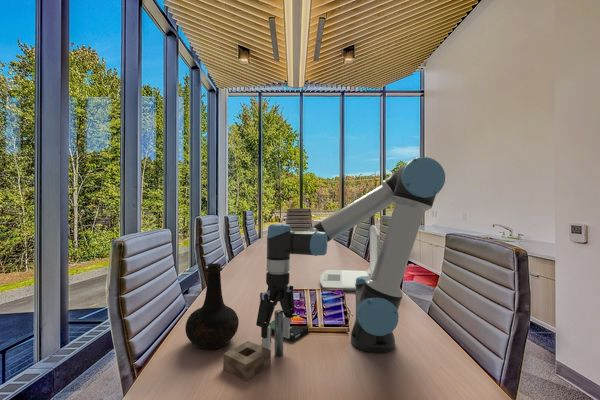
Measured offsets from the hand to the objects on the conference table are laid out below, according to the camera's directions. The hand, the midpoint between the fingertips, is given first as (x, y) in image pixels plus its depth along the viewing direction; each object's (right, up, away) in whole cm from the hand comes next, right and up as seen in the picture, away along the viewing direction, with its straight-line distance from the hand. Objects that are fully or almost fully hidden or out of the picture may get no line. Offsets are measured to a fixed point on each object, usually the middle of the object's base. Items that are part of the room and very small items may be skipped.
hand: (276, 342), depth 95 cm
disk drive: (+2, -5, +18) cm, 19 cm away
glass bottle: (-23, -5, +9) cm, 25 cm away
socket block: (-8, -5, -6) cm, 11 cm away
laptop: (+37, -5, +86) cm, 93 cm away
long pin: (+1, -5, +1) cm, 5 cm away
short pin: (-4, -5, +10) cm, 11 cm away
